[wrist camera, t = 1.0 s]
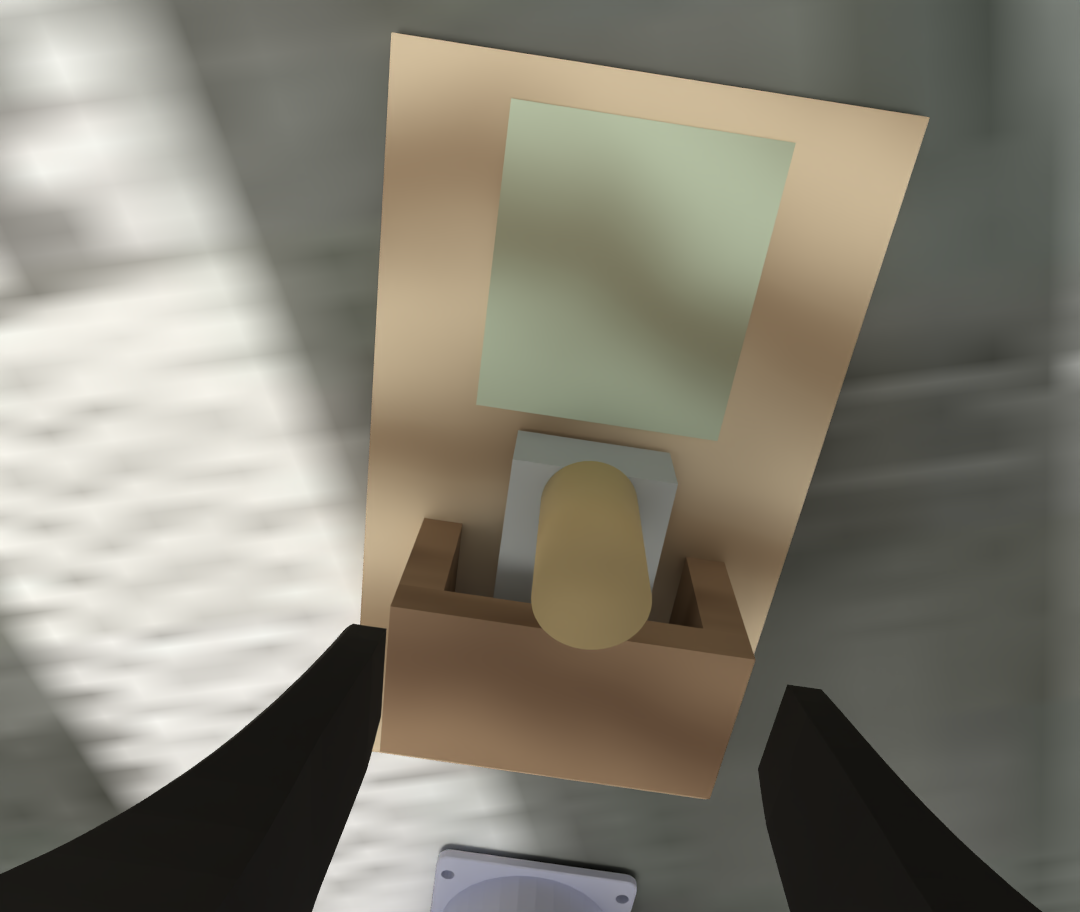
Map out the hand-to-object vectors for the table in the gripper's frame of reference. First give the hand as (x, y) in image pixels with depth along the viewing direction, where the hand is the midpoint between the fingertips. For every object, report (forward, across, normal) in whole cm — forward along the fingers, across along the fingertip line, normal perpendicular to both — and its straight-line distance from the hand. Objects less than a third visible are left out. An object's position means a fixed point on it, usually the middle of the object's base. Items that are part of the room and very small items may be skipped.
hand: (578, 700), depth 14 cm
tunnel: (+10, 0, +5) cm, 11 cm away
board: (+10, 0, +1) cm, 10 cm away
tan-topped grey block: (+10, 0, +3) cm, 10 cm away
